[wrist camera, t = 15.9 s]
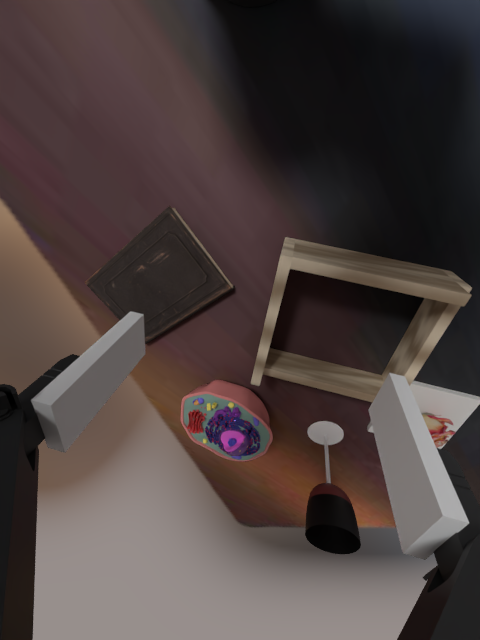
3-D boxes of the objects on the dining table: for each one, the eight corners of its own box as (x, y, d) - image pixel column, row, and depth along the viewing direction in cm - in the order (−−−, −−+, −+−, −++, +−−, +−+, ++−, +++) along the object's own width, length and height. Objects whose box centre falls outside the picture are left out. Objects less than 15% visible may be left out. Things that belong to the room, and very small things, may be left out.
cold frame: (285, 236, 43) (280, 254, 35) (451, 271, 40) (485, 298, 33) (258, 351, 54) (250, 383, 46) (386, 383, 52) (400, 422, 44)
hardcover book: (92, 278, 54) (84, 282, 52) (175, 204, 44) (169, 206, 42) (149, 339, 59) (143, 346, 57) (235, 285, 49) (232, 290, 47)
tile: (397, 376, 51) (398, 380, 50) (479, 396, 49) (482, 401, 48) (367, 427, 58) (367, 431, 57) (437, 445, 57) (439, 450, 56)
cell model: (234, 349, 55) (219, 390, 45) (291, 416, 61) (289, 465, 51) (176, 381, 63) (152, 422, 53) (231, 437, 68) (219, 483, 59)
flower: (378, 421, 53) (403, 463, 49) (412, 400, 47) (444, 446, 43) (409, 413, 57) (435, 451, 53) (444, 393, 51) (476, 434, 47)
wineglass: (328, 414, 58) (337, 520, 41) (353, 439, 60) (371, 549, 43) (297, 427, 62) (294, 530, 45) (322, 450, 64) (327, 557, 47)
